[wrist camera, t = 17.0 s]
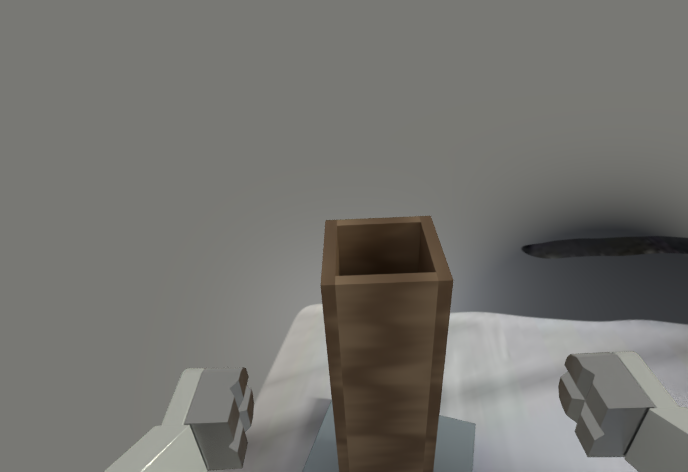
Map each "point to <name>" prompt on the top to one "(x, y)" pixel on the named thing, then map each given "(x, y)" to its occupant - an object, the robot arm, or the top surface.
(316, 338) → the top surface
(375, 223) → the walnut sleeve
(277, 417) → the top surface
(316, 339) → the top surface
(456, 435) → the base plate
